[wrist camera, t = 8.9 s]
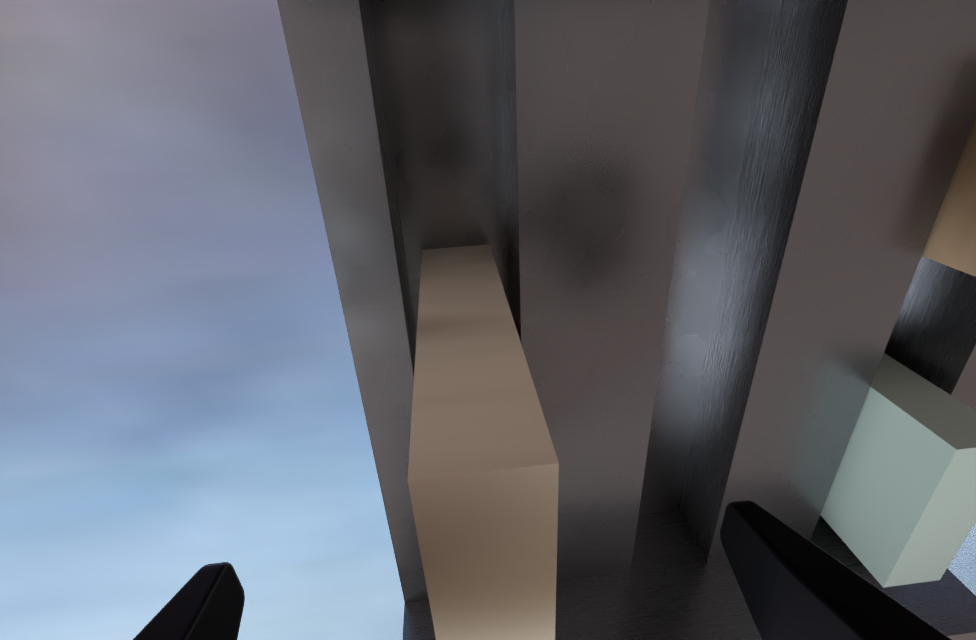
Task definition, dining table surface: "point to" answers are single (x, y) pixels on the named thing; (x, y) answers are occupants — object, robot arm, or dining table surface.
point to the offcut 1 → (906, 479)
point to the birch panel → (480, 459)
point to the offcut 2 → (957, 216)
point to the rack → (653, 257)
